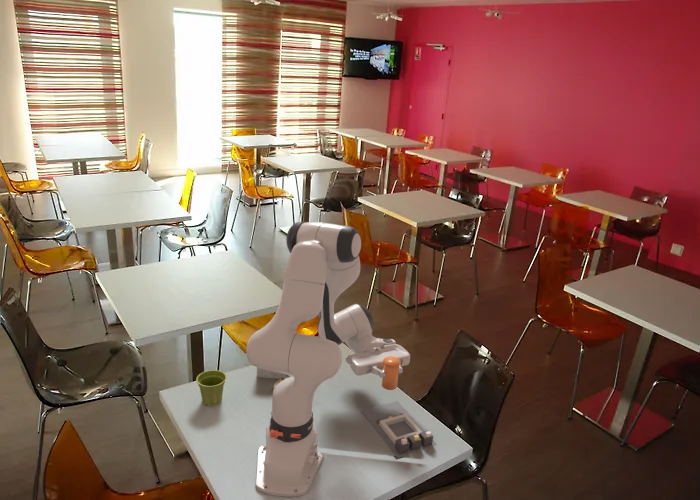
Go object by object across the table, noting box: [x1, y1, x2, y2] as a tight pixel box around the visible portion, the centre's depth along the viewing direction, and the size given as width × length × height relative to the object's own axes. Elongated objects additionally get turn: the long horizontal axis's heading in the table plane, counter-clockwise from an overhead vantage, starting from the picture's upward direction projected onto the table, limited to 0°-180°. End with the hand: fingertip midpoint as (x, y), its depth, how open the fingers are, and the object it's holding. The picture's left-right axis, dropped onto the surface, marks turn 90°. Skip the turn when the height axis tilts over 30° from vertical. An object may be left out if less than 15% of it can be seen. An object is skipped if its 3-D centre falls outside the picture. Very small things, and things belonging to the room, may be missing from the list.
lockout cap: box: [381, 356, 401, 391], centre depth 167 cm, size 5×5×9 cm
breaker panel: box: [360, 400, 437, 460], centre depth 166 cm, size 23×14×5 cm, turn 26°
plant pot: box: [195, 369, 227, 407], centre depth 173 cm, size 9×9×9 cm
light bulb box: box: [256, 367, 288, 380], centre depth 190 cm, size 11×7×11 cm, turn 89°
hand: (392, 373), depth 166 cm, fingers closed on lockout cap, 5 cm apart
